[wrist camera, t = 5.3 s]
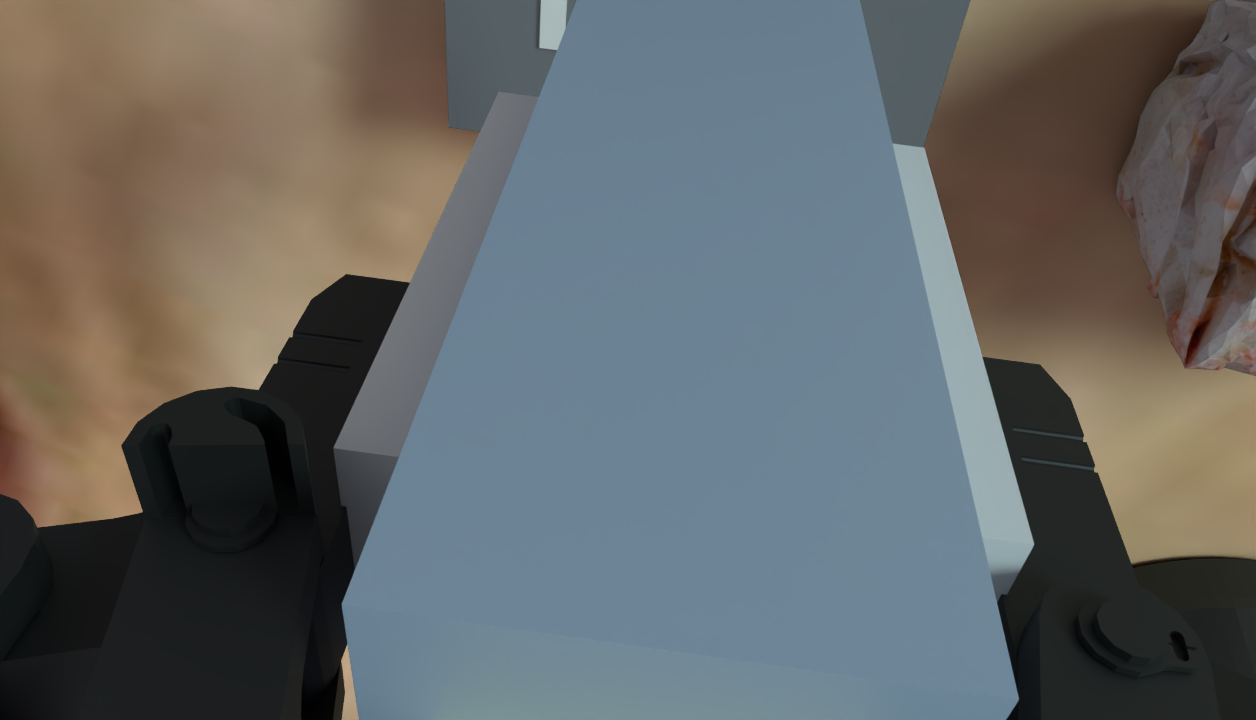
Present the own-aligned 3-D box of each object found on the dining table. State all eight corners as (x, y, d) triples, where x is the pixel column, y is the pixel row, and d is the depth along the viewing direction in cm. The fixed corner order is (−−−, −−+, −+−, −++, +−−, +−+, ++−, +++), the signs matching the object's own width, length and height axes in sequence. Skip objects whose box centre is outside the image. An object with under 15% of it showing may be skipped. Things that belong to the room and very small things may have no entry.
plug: (802, 215, 18) (863, 1070, 8) (578, 185, 18) (355, 997, 8) (857, -13, 15) (1051, 836, 5) (594, -46, 15) (292, 728, 5)
